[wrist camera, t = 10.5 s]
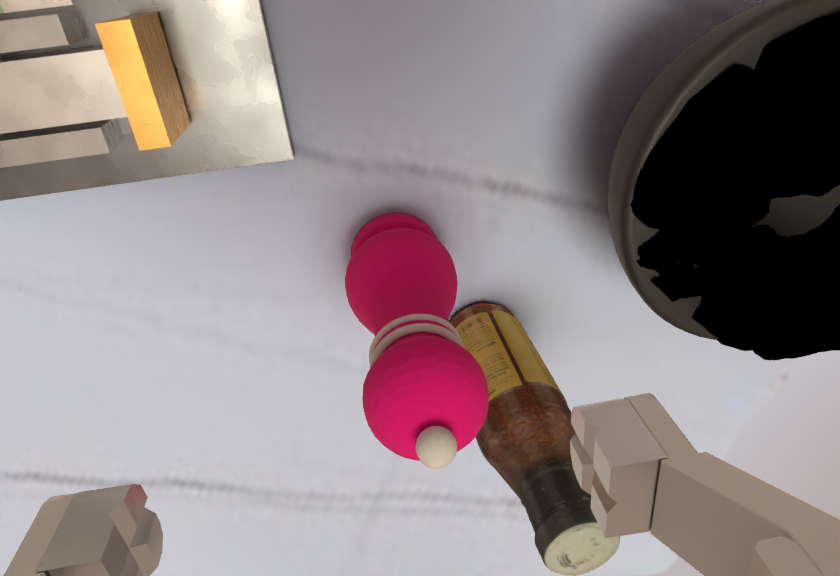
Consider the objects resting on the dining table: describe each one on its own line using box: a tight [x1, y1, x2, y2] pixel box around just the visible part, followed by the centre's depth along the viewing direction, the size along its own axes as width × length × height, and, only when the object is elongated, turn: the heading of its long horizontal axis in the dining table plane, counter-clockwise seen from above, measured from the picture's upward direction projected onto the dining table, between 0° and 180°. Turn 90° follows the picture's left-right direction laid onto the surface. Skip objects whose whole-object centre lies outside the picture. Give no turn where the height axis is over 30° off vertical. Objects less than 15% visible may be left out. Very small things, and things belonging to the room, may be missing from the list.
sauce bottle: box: [449, 303, 620, 576], centre depth 37 cm, size 6×6×20 cm
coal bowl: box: [608, 0, 840, 360], centre depth 32 cm, size 20×20×19 cm
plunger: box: [0, 12, 191, 151], centre depth 29 cm, size 9×11×5 cm
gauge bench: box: [0, 0, 294, 201], centre depth 30 cm, size 12×20×7 cm, turn 96°
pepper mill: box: [345, 213, 489, 469], centre depth 33 cm, size 7×7×20 cm
